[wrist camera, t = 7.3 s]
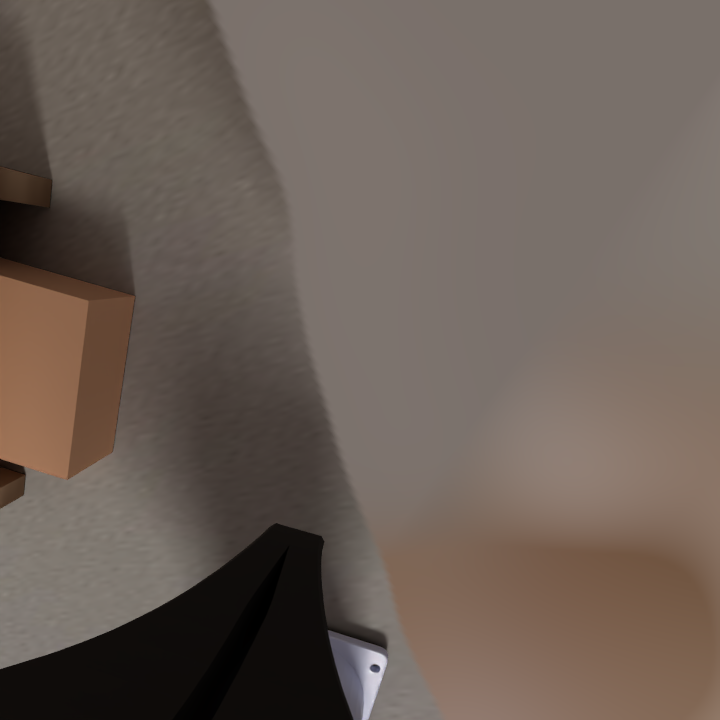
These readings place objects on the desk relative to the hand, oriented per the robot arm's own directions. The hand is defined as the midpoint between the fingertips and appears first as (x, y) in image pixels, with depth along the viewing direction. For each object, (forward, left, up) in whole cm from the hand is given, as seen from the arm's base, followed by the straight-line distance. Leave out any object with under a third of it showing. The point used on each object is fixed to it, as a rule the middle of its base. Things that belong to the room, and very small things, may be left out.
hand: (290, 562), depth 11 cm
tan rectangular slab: (-1, +17, -9) cm, 19 cm away
